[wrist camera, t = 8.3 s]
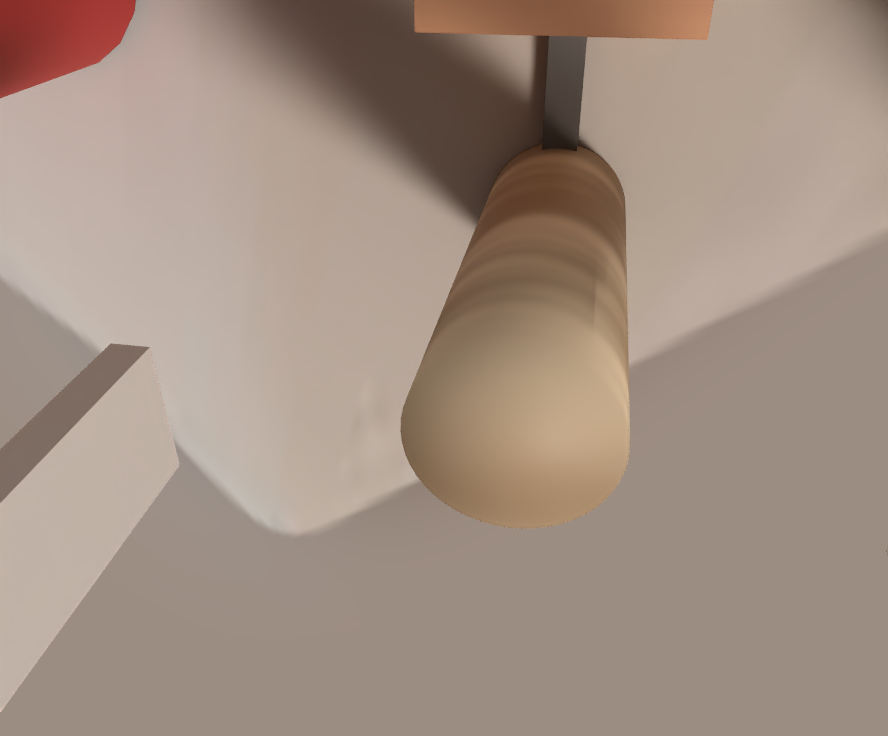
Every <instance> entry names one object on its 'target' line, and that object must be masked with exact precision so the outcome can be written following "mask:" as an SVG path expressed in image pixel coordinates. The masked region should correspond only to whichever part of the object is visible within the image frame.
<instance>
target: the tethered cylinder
mask: <svg viewBox="0 0 888 736" xmlns="http://www.w3.org/2000/svg"><path fill="white" fill-rule="evenodd" d="M713 2H714V0H414V22H415V32H421V33H460V34H500V35H540V36H549V45H548V61H547V78H546V95H545V111H544V128H543V144H541V145H538V146H534V147H532V148H529V149H527V150H525V151H523V152H521V153H520V154H518V155H517V156H515V157H514V158H513V159H511V160H510V161H509V162H508V163H507V164H506V165H505V166H504V168H503V169H502V170H501V172H500V173H499V174H498V176H497V178H496V180H495V182H494V184H493V187H492V189H491V192H490V194H489V197H488V199H487V202H486V204H485V207H484V209H483V211H482V214H481V216H480V219H479V221H478V224H477V226H476V229H475V231H474V234H473V236H472V239H471V241H470V243H469V246H468V248H467V251H466V253H465V256H464V258H463V261H462V263H461V266H460V268H459V271H458V273H457V275H456V278H455V280H454V283H453V285H452V288H451V290H450V293H449V295H448V298H447V300H446V303H445V305H444V307H443V310H442V312H441V315H440V317H439V320H438V322H437V325H436V327H435V330H434V332H433V335H432V337H431V340H430V342H429V344H428V347H427V349H426V352H425V354H424V357H423V359H422V362H421V364H420V367H419V369H418V372H417V374H416V376H415V379H414V381H413V384H412V386H411V389H410V391H409V394H408V396H407V399H406V401H405V404H404V407H403V412H402V417H401V437H402V444H403V447H404V451H405V454H406V457H407V459H408V461H409V463H410V465H411V467H412V469H413V470H414V472H415V474H416V475H417V477H418V478H419V479H420V480H421V482H422V483H423V484H424V485H425V486H426V487H427V488H428V489H429V490H430V491H431V492H432V493H433V494H434V495H435V496H436V497H438V498H439V499H440V500H441V501H442V502H444V503H445V504H447V505H448V506H450V507H451V508H453V509H455V510H456V511H458V512H460V513H462V514H464V515H466V516H468V517H471V518H474V519H476V520H479V521H482V522H485V523H489V524H493V525H497V526H503V527H509V528H541V527H549V526H553V525H557V524H562V523H565V522H568V521H571V520H574V519H576V518H578V517H580V516H582V515H584V514H586V513H588V512H590V511H591V510H593V509H594V508H596V507H597V506H598V505H600V504H601V503H602V502H603V501H604V500H605V499H607V498H608V496H609V495H610V494H611V493H612V492H613V491H614V489H615V488H616V487H617V485H618V483H619V482H620V480H621V479H622V476H623V474H624V472H625V469H626V467H627V462H628V458H629V450H630V421H629V420H630V419H629V369H628V318H627V268H626V217H625V197H624V193H623V189H622V186H621V183H620V181H619V179H618V177H617V175H616V174H615V172H614V171H613V169H612V168H611V167H610V166H609V165H608V164H607V163H606V162H605V161H604V160H603V159H602V158H601V157H599V156H598V155H597V154H595V153H594V152H592V151H590V150H588V149H586V148H583V147H581V146H578V136H579V124H580V112H581V101H582V89H583V77H584V65H585V53H586V41H587V37H619V38H659V39H699V40H707V39H708V33H709V27H710V21H711V15H712V8H713Z"/></svg>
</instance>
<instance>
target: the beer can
mask: <svg viewBox="0 0 888 736" xmlns="http://www.w3.org/2000/svg"><path fill="white" fill-rule="evenodd" d="M135 2H136V0H0V98H2V97H5V96H8V95H10V94H13V93H16V92H19V91H21V90H24V89H27V88H30V87H32V86H35V85H38V84H41V83H43V82H46V81H49V80H52V79H54V78H57V77H60V76H63V75H65V74H68V73H71V72H74V71H76V70H79V69H82V68H85V67H87V66H90V65H93V64H96V63H99V62H100V61H101V60H102V59H103V58H104V57H105V56H106V55H108V54H109V53H110V52H111V51H112V50H113V49H114V48H115V47H116V46H117V45H118V44H120V42H121V40H122V38H123V36H124V34H125V31H126V29H127V27H128V25H129V23H130V21H131V19H132V16H133V14H134V11H135Z"/></svg>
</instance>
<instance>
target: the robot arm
mask: <svg viewBox="0 0 888 736" xmlns="http://www.w3.org/2000/svg"><path fill="white" fill-rule="evenodd" d="M178 466H179V461H178V457H177V453H176V449H175V445H174V441H173V437H172V433H171V429H170V425H169V421H168V417H167V413H166V409H165V405H164V402H163V398H162V394H161V390H160V386H159V382H158V378H157V374H156V370H155V366H154V362H153V358H152V354H151V350H150V347H142V346H131V345H121V344H110V345H109V346H108V347H107V348H106V349H105V350H104V351H103V352H102V353H101V354H99V355H98V356H97V357H96V358H95V359H94V360H93V361H92V362H91V363H90V364H89V365H88V366H87V367H86V368H85V369H84V370H83V371H82V372H81V373H80V374H79V375H78V376H77V377H76V378H75V379H73V380H72V381H71V382H70V383H69V384H68V385H67V386H66V387H65V388H64V389H63V390H62V391H61V392H60V393H59V394H58V395H57V396H56V397H55V398H53V399H52V400H51V401H50V402H49V403H48V404H47V405H46V406H45V407H44V408H43V409H42V410H41V411H40V412H39V413H38V414H37V415H36V416H35V417H34V418H33V419H32V420H31V421H29V422H28V423H27V424H26V425H25V426H24V427H23V428H22V429H21V430H20V431H19V432H18V433H17V434H16V435H15V436H14V437H13V438H12V439H11V440H10V441H9V442H7V443H6V444H5V445H4V446H3V447H2V448H1V449H0V712H1V711H2V709H3V708H4V707H5V705H6V704H7V702H8V701H9V700H10V698H11V697H12V696H13V694H14V693H15V691H16V690H17V689H18V687H19V686H20V684H21V683H22V682H23V680H24V679H25V678H26V676H27V675H28V673H29V672H30V671H31V669H32V668H33V666H34V665H35V664H36V662H37V661H38V660H39V658H40V657H41V656H42V654H43V653H44V651H45V650H46V649H47V647H48V646H49V645H50V643H51V642H52V640H53V639H54V638H55V636H56V635H57V634H58V632H59V631H60V629H61V628H62V627H63V625H64V624H65V622H66V621H67V620H68V618H69V617H70V616H71V614H72V613H73V611H74V610H75V609H76V607H77V606H78V605H79V603H80V602H81V600H82V599H83V598H84V596H85V595H86V593H87V592H88V591H89V589H90V588H91V587H92V585H93V584H94V582H95V581H96V580H97V578H98V577H99V575H100V574H101V573H102V571H103V570H104V569H105V567H106V566H107V564H108V563H109V562H110V560H111V559H112V557H113V556H114V555H115V553H116V552H117V551H118V549H119V548H120V546H121V545H122V544H123V542H124V541H125V540H126V538H127V537H128V536H129V534H130V533H131V531H132V530H133V529H134V527H135V526H136V524H137V523H138V521H139V520H140V519H141V517H142V516H143V515H144V513H145V512H146V511H147V509H148V508H149V507H150V505H151V504H152V502H153V501H154V500H155V498H156V497H157V495H158V494H159V493H160V491H161V490H162V489H163V487H164V486H165V484H166V483H167V482H168V480H169V479H170V478H171V476H172V475H173V473H174V472H175V471H176V469H177V468H178ZM886 552H887V554H888V547H887V550H886Z"/></svg>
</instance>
